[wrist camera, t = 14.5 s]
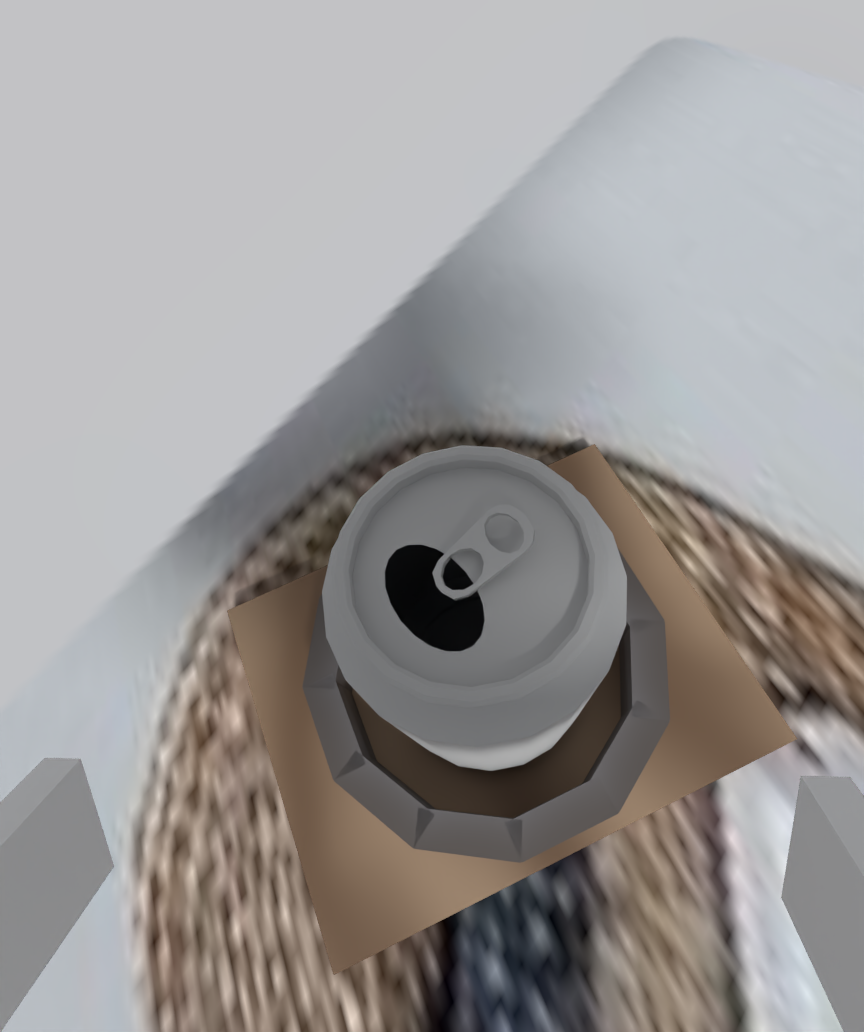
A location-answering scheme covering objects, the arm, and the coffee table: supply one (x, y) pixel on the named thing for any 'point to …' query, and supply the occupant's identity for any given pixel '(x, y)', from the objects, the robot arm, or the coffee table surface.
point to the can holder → (500, 793)
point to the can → (475, 603)
